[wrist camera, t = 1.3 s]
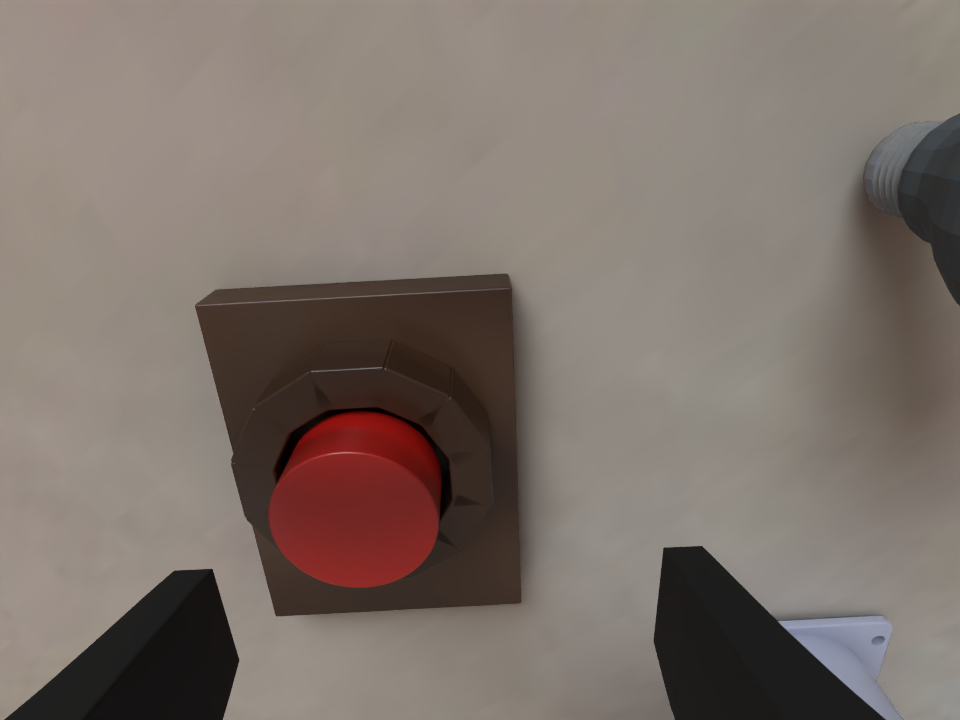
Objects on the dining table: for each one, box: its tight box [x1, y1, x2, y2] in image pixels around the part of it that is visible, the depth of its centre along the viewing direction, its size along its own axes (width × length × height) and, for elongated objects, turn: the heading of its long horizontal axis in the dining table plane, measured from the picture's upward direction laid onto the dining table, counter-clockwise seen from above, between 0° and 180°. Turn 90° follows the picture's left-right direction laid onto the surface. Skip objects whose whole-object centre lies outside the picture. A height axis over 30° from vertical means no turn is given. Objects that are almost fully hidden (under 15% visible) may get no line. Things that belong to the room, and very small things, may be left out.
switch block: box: [195, 274, 521, 616], centre depth 19 cm, size 12×9×4 cm
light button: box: [268, 411, 442, 588], centre depth 16 cm, size 4×4×2 cm
